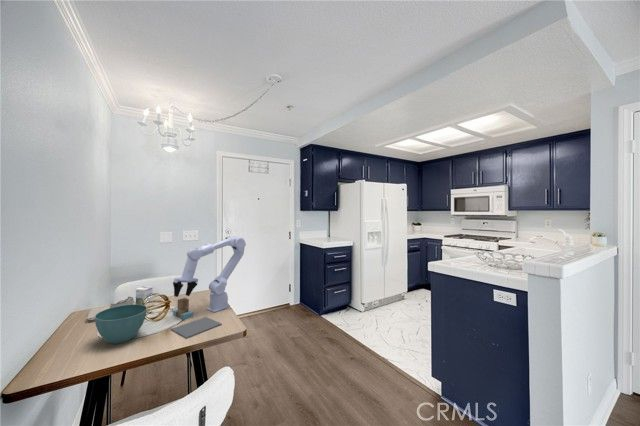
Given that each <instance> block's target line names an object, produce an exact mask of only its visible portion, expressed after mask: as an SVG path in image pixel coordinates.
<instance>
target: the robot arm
mask: <svg viewBox="0 0 640 426" xmlns="http://www.w3.org/2000/svg"><path fill="white" fill-rule="evenodd" d="M227 246H229V247H231V248H232V251H233V254H232V256H230V258H229V260H228V261H227V263H226V265H224V267H223V269H222V270H221V272H220V273H219V275H218V276H216V277H215V279H213V280H212V281H210V283H209V284H208V289H209V290H210V293H209V307H206V310H208V311H210V312H214V313H215V312H219V311H221V310H225V309H228V308H229V305H228V304H229V302H228V301H229V300H228V299H229V296H228V293H227V292H226V291H225V290H226V286H227V285H228V279H229V278H230V276H231V275H232V273H233V272H234V270H235V269H236V267H237V265H238V264H239V262H240V260H241V259H242V257H243V256H244V254H245V247H246V241H245V239H244V238H243V237H239V236H232V237H228V238H226V239H223V240H221V241H218V242H216V243H213V244H211V243H204V245H202V246H201V245H200V246H196V248H191V249H189V250H188V251H187V252H186V256H187V259H186V262H185V263H184V264H185V265H184V267H183V271H182V274H181V276H180V277H178V278H177V277H175V278H173V281H172V285H173V291H174V292H173V296H174V297H179V295H180V292H181V290H182V288H183V287H184V284H183V283H187V284H186V292H185V296H186V297H190V295H191V294H192V292H193V290H194V289H195V287H197V286H198V282H199V278H196V277H195V278H194V275H195V273H196V271H197V267H198V266H197V265H198V262H199V260H201V258H202V257H206V256H208V255H210V254H213V253H214V251H216V250H218V249H221V248H224V247H227Z"/></svg>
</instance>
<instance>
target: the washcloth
mask: <svg viewBox="0 0 640 426" xmlns="http://www.w3.org/2000/svg"><path fill="white" fill-rule="evenodd" d="M109 308H110V305H108V306H104V307H102V306H101V307H95V308H91V309H89V311H88V314H87V317H86V319H85V320H86V323H87V324H88V323H95V315H96V314H97V313H99V312H101V311H103V310H106V309H109Z"/></svg>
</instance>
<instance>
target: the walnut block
mask: <svg viewBox="0 0 640 426" xmlns="http://www.w3.org/2000/svg"><path fill="white" fill-rule="evenodd" d="M189 302H190V298H187V297H181V298H178V299H177V306H176V307H177V308H176V309H177V316H176V317H178V318H180V317H181V314H182V313H185V312H189V311H190V310H189V308H190V303H189Z"/></svg>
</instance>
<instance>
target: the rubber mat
mask: <svg viewBox="0 0 640 426" xmlns="http://www.w3.org/2000/svg"><path fill="white" fill-rule="evenodd" d="M220 326H222V322H219V321H216V320H214V319H212V318H209V317H207V316H205V317H202V318H198V319H196V320H193V321H189V322H187V323H184V324H181V325H178V326H175V327H172V328H170V331H172V332H174V333H175V334H177V335H179V336H181V337H183V338H184V339H190V338H191V337H194V336H196V335H200V334H201V333H204V332H207V331H210V330H212V329H214V328H217V327H220Z"/></svg>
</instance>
